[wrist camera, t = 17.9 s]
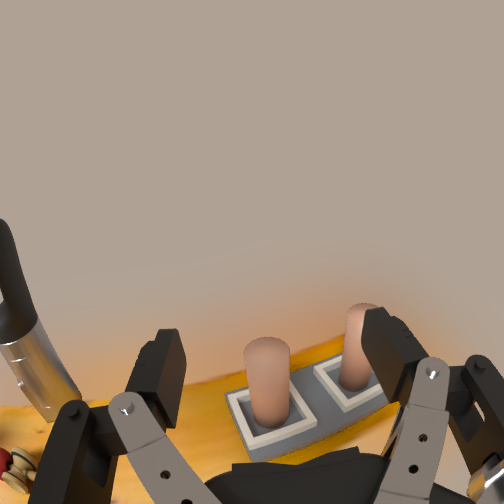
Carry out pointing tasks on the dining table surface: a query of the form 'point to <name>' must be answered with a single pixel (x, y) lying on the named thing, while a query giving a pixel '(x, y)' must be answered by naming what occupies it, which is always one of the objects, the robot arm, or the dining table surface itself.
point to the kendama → (17, 468)
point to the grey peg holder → (315, 399)
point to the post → (268, 380)
